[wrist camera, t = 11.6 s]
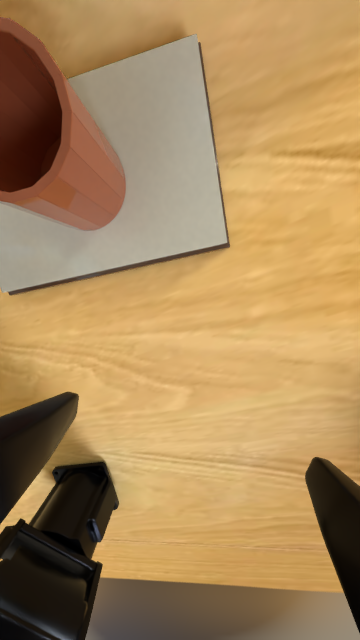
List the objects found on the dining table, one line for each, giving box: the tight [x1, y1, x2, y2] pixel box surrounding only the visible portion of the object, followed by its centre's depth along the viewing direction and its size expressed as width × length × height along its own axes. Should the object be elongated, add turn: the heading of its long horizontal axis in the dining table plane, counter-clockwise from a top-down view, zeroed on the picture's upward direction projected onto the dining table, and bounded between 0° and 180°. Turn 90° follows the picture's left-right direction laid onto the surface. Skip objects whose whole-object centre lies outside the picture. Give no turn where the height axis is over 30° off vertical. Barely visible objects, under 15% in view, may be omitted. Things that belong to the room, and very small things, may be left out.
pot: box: [0, 17, 126, 231], centre depth 12 cm, size 7×7×7 cm
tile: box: [0, 34, 230, 295], centre depth 16 cm, size 21×14×2 cm, turn 102°
